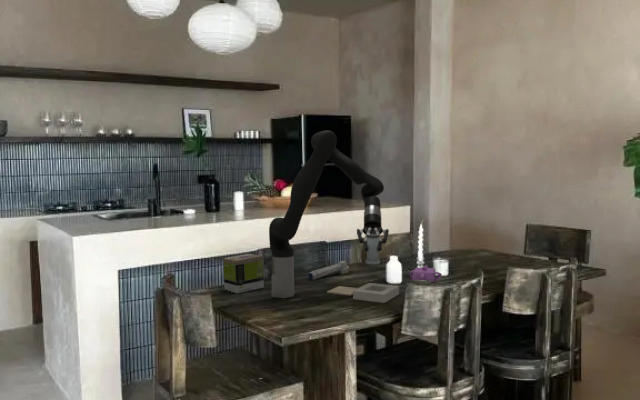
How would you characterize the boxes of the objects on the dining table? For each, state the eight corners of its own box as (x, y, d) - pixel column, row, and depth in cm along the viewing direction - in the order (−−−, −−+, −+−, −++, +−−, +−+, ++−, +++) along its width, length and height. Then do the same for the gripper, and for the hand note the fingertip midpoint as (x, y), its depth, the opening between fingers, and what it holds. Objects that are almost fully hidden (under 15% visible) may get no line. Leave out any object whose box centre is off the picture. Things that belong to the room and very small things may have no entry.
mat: (350, 295, 256) (350, 294, 256) (327, 292, 261) (327, 291, 261) (361, 290, 266) (361, 288, 266) (338, 287, 271) (338, 286, 271)
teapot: (412, 283, 277) (412, 261, 276) (443, 285, 273) (443, 263, 272) (407, 293, 260) (407, 269, 259) (440, 294, 256) (440, 271, 255)
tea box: (251, 284, 278) (250, 252, 277) (264, 288, 271) (263, 255, 270) (223, 290, 269) (222, 257, 267) (236, 294, 261) (235, 260, 260)
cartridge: (376, 264, 249) (376, 236, 248) (363, 263, 252) (363, 235, 251) (382, 262, 255) (382, 234, 253) (369, 261, 258) (369, 233, 256)
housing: (384, 303, 244) (384, 294, 243) (353, 299, 251) (353, 290, 250) (399, 294, 258) (399, 286, 257) (369, 290, 264) (368, 282, 264)
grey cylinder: (305, 271, 288) (342, 257, 304) (307, 285, 289) (344, 270, 305) (313, 273, 284) (350, 258, 300) (314, 286, 285) (351, 271, 301)
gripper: (355, 212, 260) (355, 245, 249) (389, 212, 258) (390, 245, 248) (356, 223, 265) (355, 255, 254) (388, 223, 264) (389, 255, 253)
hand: (372, 250), depth 251 cm, fingers closed on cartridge, 4 cm apart
